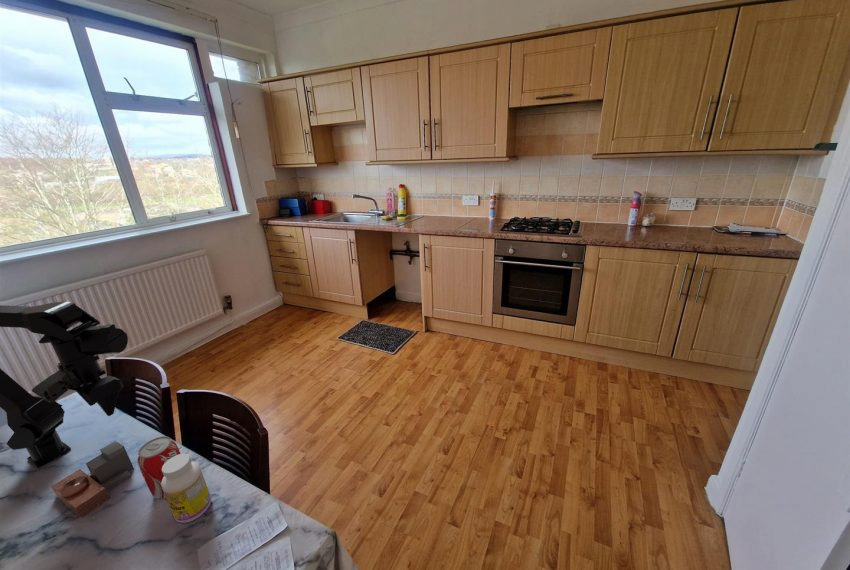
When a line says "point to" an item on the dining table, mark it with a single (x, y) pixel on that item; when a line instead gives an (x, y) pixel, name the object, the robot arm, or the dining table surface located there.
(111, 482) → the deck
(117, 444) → the grey stepped block
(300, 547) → the dining table surface
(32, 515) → the dining table surface
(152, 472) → the soda can
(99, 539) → the dining table surface
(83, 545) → the dining table surface
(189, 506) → the supplement bottle
